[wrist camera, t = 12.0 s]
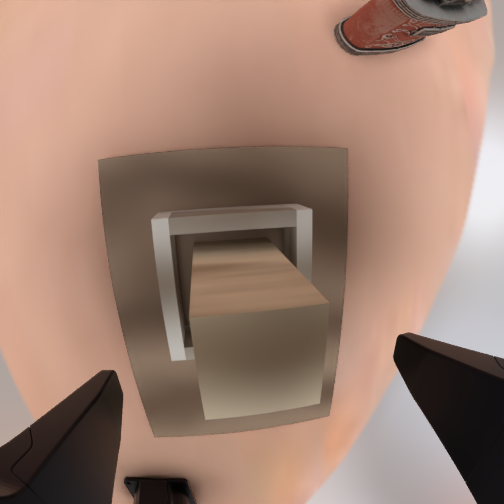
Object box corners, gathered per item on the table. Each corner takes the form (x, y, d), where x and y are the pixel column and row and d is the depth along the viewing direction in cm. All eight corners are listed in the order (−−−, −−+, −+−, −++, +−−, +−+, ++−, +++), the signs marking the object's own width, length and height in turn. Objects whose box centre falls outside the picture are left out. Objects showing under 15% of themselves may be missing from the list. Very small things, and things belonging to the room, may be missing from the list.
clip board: (325, 408, 23) (340, 436, 20) (155, 428, 21) (152, 460, 18) (340, 148, 18) (368, 146, 14) (103, 160, 16) (82, 158, 12)
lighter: (348, 63, 16) (453, 7, 7) (324, 21, 15) (410, -57, 6) (426, 46, 17) (523, 13, 7) (407, 9, 16) (494, -36, 6)
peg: (267, 303, 18) (319, 403, 10) (200, 309, 18) (205, 420, 9) (266, 237, 17) (329, 303, 9) (193, 242, 17) (189, 317, 8)
